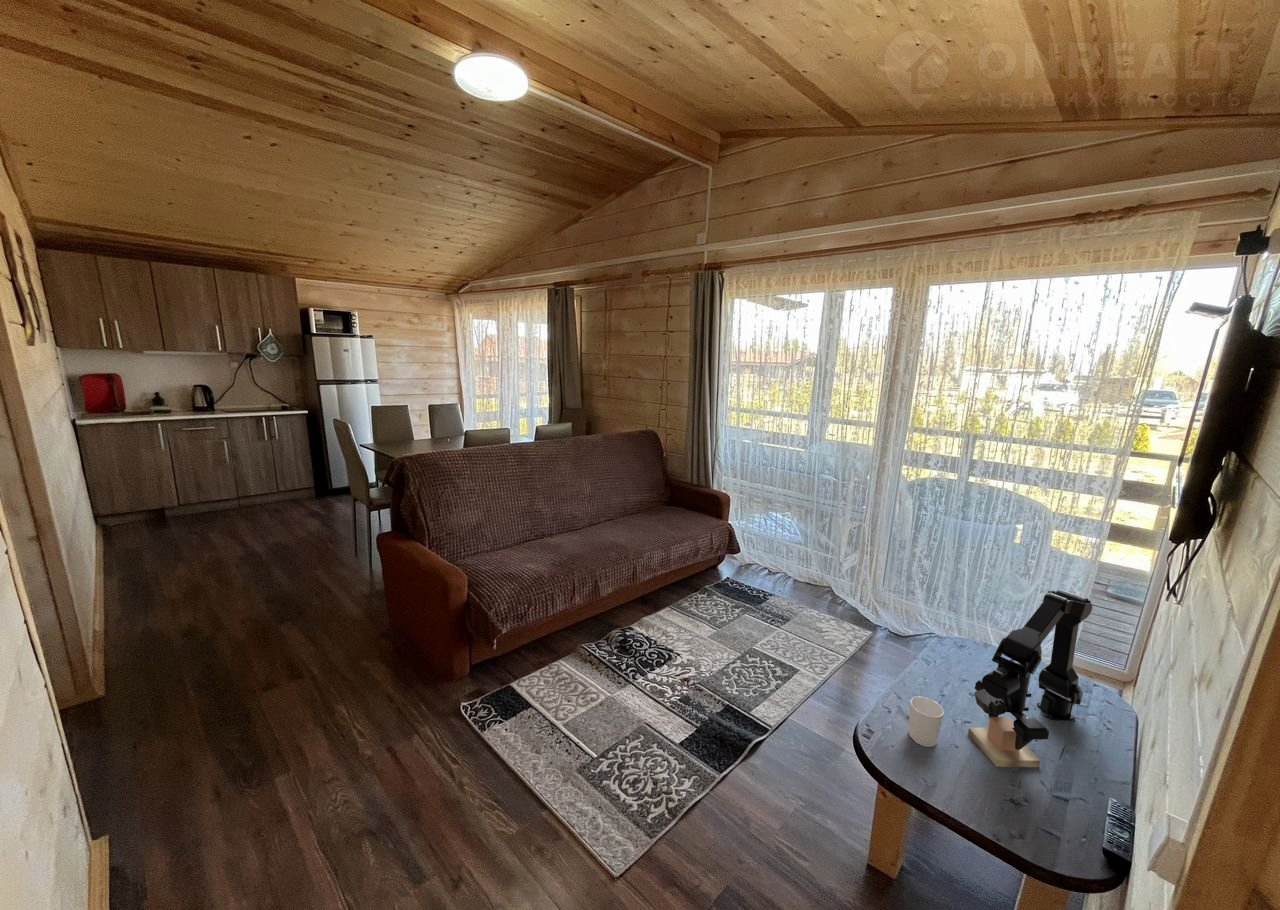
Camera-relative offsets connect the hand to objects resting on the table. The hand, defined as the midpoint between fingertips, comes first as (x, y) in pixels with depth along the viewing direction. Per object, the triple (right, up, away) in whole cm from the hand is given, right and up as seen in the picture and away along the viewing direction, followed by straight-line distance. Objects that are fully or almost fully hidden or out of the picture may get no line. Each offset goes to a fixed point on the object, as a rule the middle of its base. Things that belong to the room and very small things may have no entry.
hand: (1004, 735), depth 128 cm
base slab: (0, -4, +1) cm, 4 cm away
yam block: (0, -2, +1) cm, 3 cm away
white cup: (-19, -4, +5) cm, 20 cm away
